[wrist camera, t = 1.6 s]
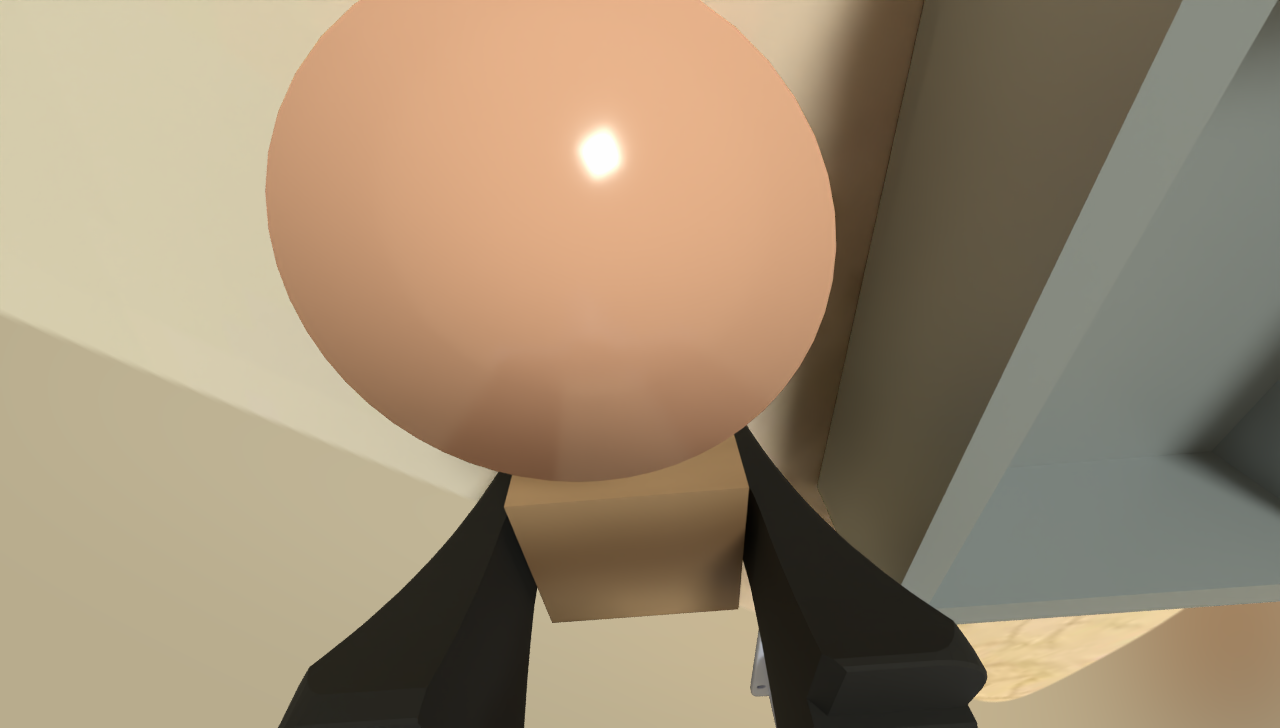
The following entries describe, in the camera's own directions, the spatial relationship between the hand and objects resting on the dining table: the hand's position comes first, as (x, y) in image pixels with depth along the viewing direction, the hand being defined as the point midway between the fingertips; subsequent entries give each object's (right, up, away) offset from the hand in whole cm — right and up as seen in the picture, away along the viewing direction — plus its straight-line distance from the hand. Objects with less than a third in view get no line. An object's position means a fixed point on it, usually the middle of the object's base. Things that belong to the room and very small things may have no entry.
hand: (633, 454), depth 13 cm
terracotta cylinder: (-1, +7, -4) cm, 8 cm away
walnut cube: (0, +1, +1) cm, 2 cm away
